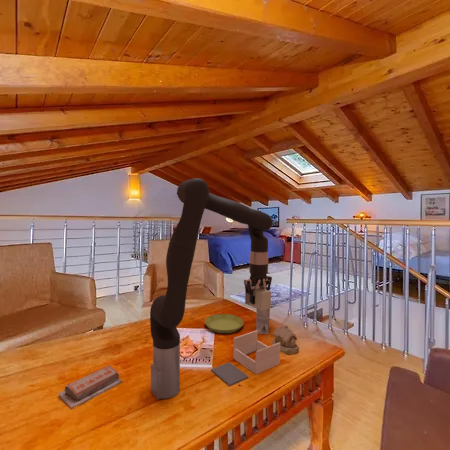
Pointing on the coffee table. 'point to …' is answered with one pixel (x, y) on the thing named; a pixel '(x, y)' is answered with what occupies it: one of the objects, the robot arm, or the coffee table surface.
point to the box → (260, 299)
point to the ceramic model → (286, 340)
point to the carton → (264, 354)
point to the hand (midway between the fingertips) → (257, 302)
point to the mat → (229, 374)
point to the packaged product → (90, 386)
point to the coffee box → (262, 321)
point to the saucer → (224, 323)
